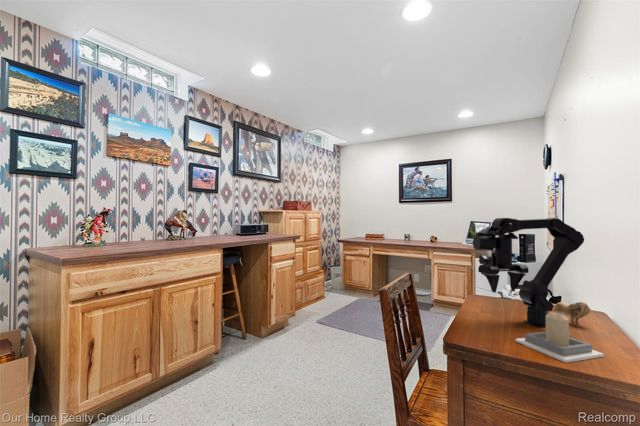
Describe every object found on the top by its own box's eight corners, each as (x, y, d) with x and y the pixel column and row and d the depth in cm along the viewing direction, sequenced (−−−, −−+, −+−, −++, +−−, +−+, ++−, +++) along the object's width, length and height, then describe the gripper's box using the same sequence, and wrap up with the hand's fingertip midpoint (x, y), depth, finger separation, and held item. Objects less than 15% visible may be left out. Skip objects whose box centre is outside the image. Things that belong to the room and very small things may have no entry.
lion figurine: (594, 327, 109) (594, 303, 109) (583, 328, 108) (583, 304, 108) (554, 315, 123) (553, 293, 123) (544, 316, 122) (543, 294, 122)
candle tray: (549, 336, 99) (549, 328, 99) (603, 356, 85) (603, 346, 85) (515, 341, 95) (515, 332, 95) (566, 362, 81) (566, 352, 81)
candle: (573, 350, 87) (573, 316, 87) (552, 348, 88) (551, 314, 88) (562, 343, 92) (561, 310, 92) (542, 341, 93) (541, 309, 93)
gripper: (503, 248, 123) (503, 286, 123) (467, 249, 118) (467, 288, 117) (529, 251, 113) (529, 292, 112) (490, 251, 107) (490, 295, 107)
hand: (503, 291), depth 112 cm, fingers open, 9 cm apart
